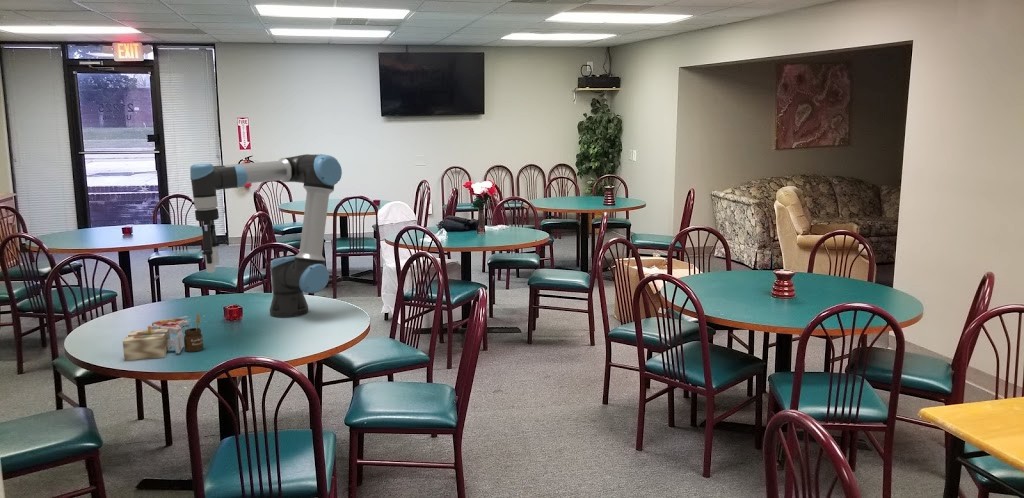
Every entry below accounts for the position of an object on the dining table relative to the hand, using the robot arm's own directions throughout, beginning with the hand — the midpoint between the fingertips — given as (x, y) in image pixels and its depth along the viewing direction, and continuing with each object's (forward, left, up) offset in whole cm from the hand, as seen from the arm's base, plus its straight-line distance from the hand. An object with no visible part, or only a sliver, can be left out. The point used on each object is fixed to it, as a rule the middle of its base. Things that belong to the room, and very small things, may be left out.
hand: (213, 268), depth 271 cm
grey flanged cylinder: (+18, +10, -26) cm, 33 cm away
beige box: (+21, +10, -26) cm, 35 cm away
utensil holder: (+7, +10, -26) cm, 29 cm away
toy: (+19, -21, -27) cm, 39 cm away
